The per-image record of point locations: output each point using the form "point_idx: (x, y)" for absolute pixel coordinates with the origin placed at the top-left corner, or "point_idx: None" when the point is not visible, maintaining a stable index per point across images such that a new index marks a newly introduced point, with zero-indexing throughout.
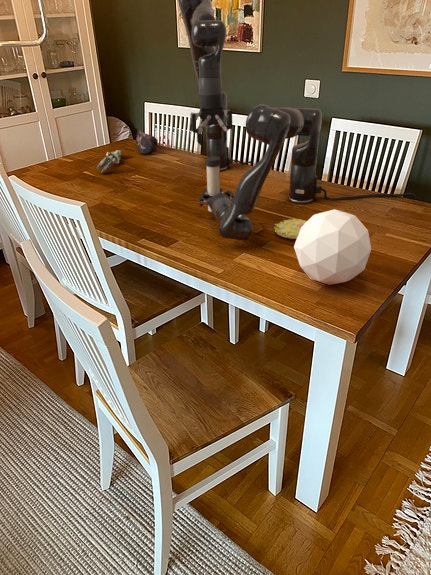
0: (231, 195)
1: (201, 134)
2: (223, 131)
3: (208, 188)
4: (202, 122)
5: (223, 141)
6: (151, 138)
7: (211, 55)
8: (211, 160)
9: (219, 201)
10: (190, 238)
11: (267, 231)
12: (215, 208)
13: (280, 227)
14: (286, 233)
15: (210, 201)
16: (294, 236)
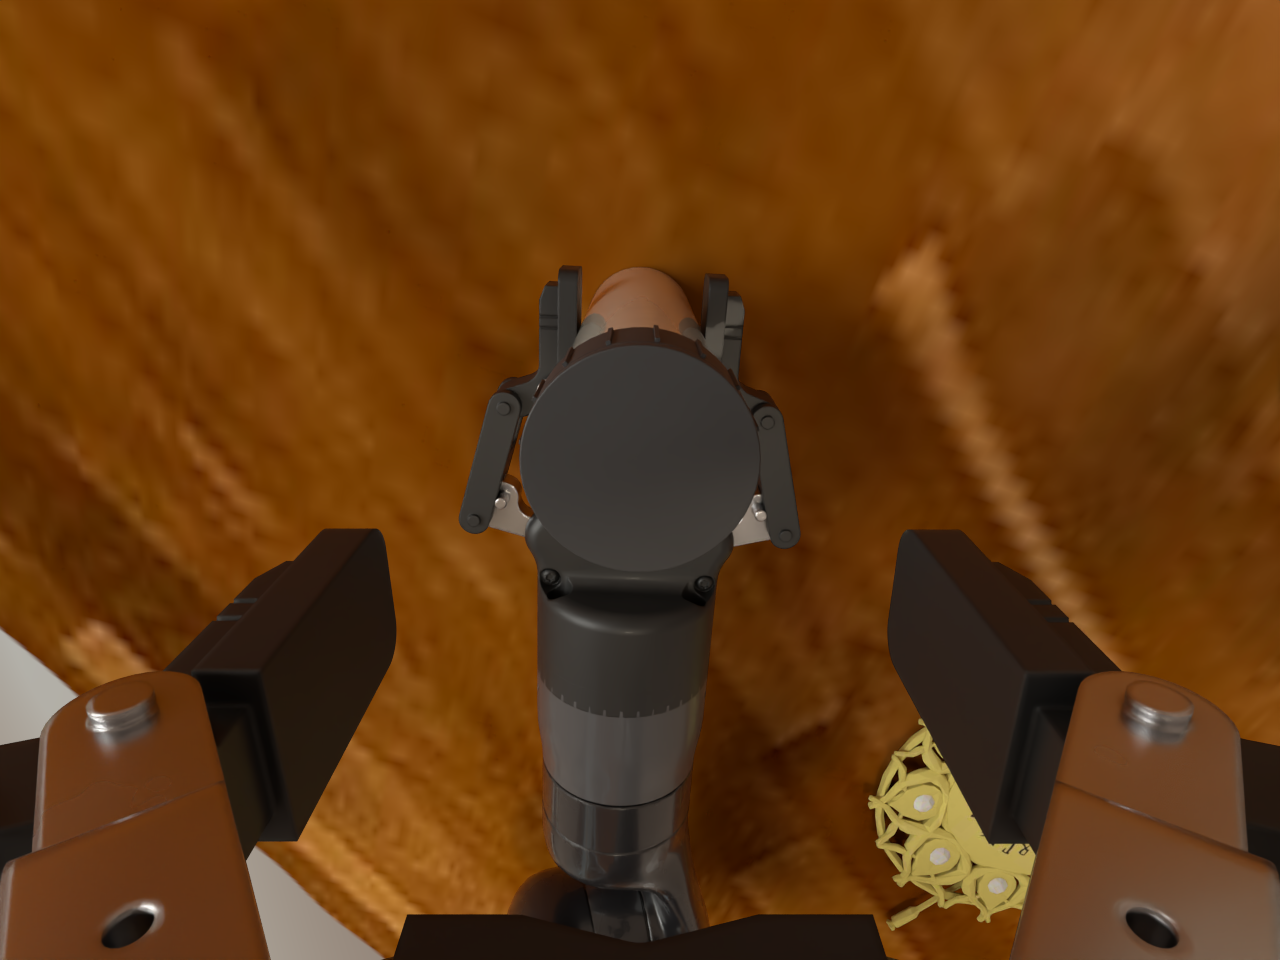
0: (759, 520)
1: (280, 839)
2: (1017, 800)
3: None
4: (155, 910)
5: (895, 659)
6: None
7: None
8: (593, 557)
9: (579, 756)
10: (387, 697)
11: (846, 745)
12: (544, 744)
13: (925, 776)
14: (911, 850)
15: (540, 607)
16: (931, 884)
